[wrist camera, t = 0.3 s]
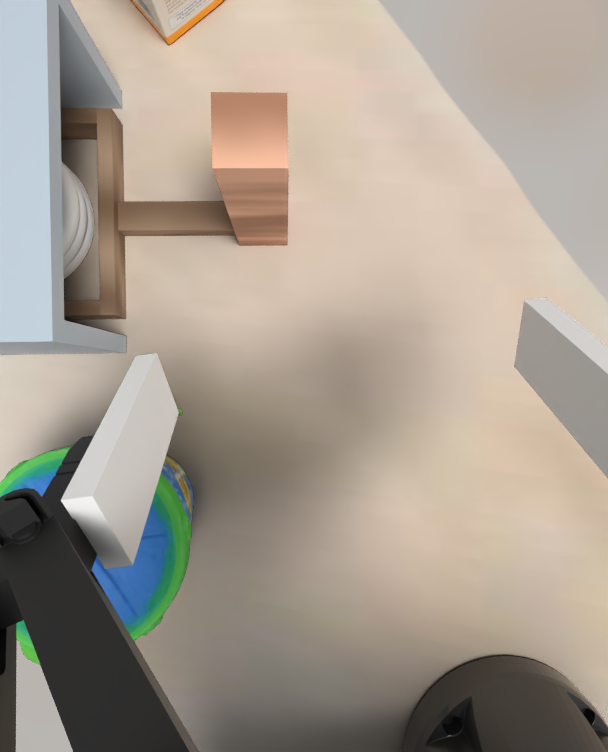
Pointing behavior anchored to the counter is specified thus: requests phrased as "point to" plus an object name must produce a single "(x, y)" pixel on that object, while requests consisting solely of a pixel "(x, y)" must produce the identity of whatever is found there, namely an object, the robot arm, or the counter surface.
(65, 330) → the tunnel
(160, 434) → the robot arm
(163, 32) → the supplement box
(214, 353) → the counter surface
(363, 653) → the counter surface
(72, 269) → the round grey tin
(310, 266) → the counter surface
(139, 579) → the snack cup
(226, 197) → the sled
